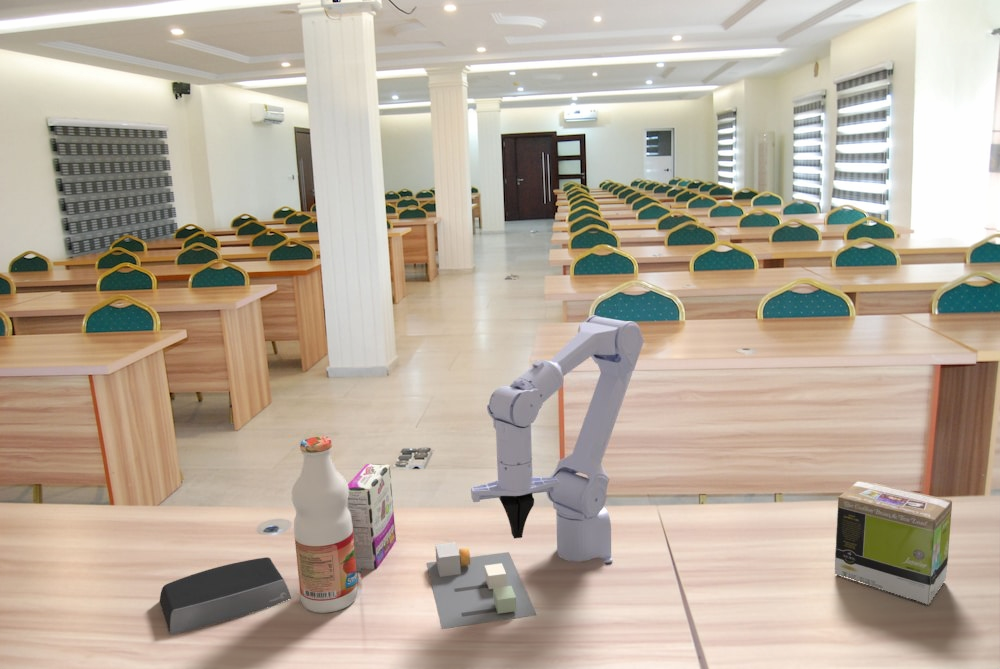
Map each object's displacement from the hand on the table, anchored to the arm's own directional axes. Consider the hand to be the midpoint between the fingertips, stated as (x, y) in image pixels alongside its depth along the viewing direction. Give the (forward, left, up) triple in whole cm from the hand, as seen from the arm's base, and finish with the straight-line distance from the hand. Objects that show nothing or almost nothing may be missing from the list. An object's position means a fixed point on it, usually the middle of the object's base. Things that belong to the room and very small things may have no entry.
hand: (516, 535), depth 135 cm
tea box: (-61, +14, -10) cm, 63 cm away
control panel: (+7, 0, -9) cm, 12 cm away
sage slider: (+4, +8, -8) cm, 12 cm away
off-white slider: (+4, 0, -8) cm, 9 cm away
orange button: (+7, -7, -8) cm, 13 cm away
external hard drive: (+49, -9, -10) cm, 50 cm away
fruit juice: (+31, -4, -10) cm, 33 cm away
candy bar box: (+23, -16, -10) cm, 30 cm away
